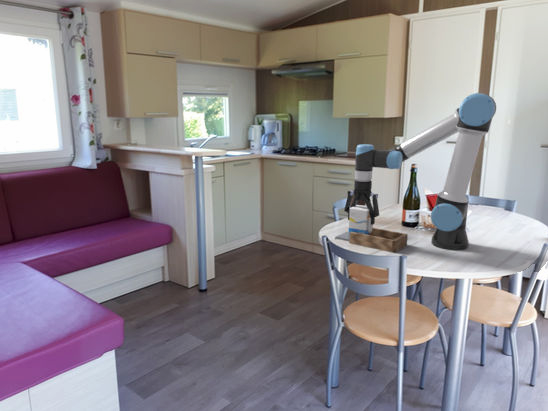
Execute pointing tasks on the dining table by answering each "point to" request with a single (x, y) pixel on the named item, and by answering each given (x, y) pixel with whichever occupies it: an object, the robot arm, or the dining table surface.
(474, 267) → the dining table surface
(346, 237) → the slate pad
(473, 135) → the robot arm
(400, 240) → the wooden tray
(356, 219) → the ink box
